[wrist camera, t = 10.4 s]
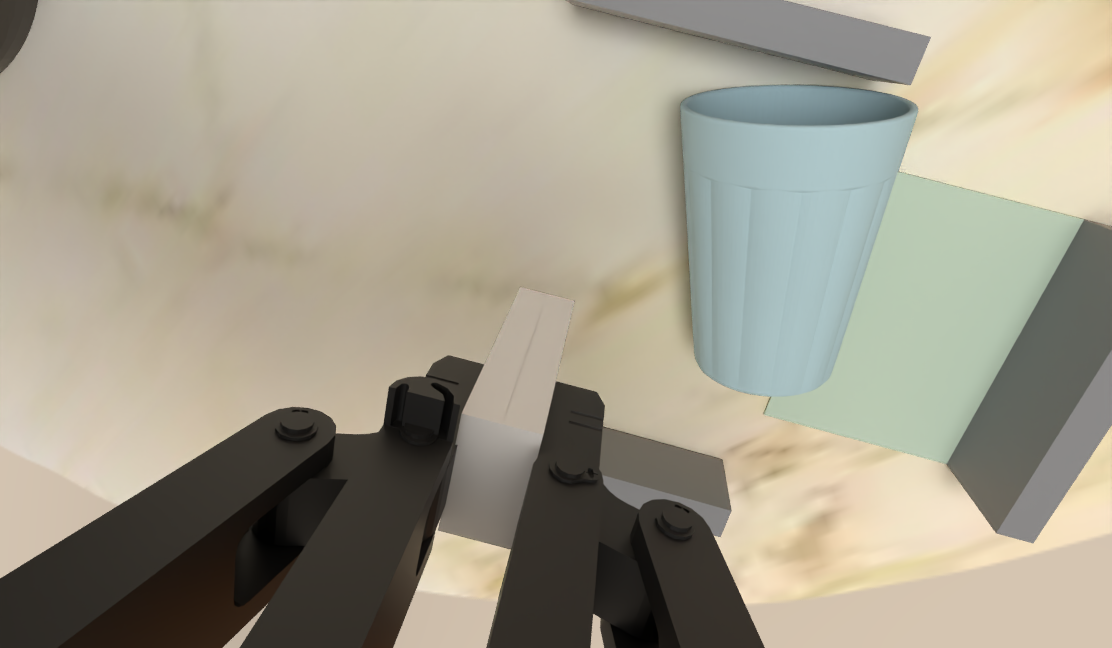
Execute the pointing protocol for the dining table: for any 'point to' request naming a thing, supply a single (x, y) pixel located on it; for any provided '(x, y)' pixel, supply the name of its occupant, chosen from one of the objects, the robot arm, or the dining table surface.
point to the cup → (783, 224)
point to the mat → (934, 317)
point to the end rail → (1046, 397)
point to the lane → (781, 30)
